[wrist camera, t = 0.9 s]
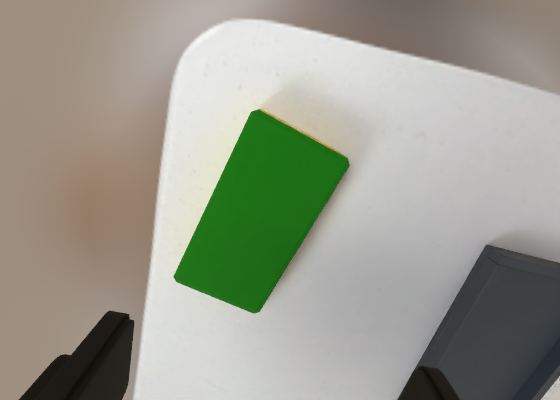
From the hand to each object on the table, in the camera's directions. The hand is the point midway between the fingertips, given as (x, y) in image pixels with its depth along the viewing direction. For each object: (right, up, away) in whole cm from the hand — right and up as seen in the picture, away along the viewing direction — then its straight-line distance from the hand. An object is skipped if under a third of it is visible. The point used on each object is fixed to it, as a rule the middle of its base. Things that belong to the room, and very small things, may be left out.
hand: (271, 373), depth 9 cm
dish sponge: (-1, +5, +12) cm, 13 cm away
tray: (+20, -10, +18) cm, 28 cm away
